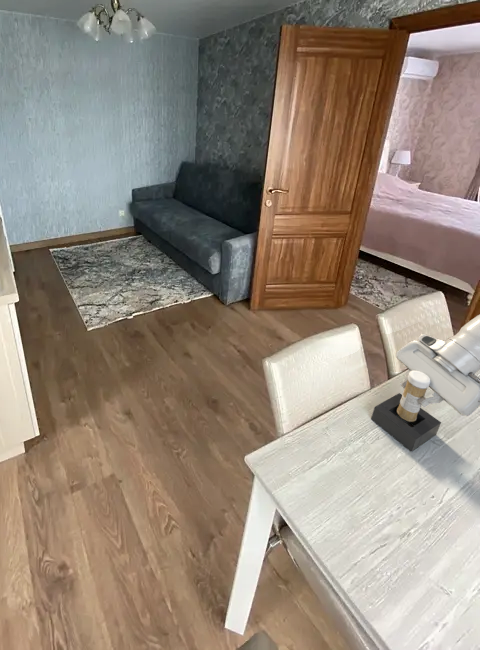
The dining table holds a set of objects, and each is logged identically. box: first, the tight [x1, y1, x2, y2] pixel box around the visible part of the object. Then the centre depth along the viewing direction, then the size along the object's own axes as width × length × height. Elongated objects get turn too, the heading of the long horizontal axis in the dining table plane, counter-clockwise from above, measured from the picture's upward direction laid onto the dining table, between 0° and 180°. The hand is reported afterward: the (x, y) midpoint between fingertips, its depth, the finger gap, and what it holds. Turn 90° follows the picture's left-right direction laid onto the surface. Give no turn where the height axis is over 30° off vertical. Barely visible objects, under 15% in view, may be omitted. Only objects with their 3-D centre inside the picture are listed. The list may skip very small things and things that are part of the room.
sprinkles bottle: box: [397, 370, 430, 423], centre depth 89 cm, size 5×5×13 cm
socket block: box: [370, 392, 442, 453], centre depth 92 cm, size 11×11×4 cm
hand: (411, 395), depth 89 cm, fingers closed on sprinkles bottle, 4 cm apart
